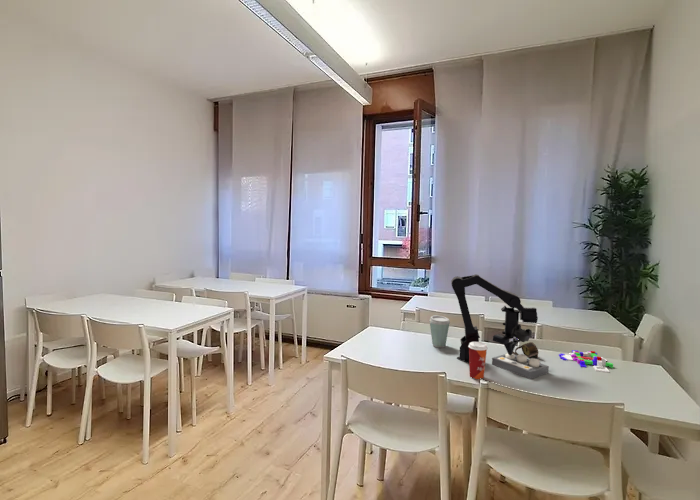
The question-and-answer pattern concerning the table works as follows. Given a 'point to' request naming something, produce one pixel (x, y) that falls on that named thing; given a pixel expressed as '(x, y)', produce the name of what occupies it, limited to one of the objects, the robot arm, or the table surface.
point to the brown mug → (528, 349)
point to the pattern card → (514, 363)
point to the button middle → (522, 358)
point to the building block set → (591, 355)
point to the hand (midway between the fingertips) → (510, 354)
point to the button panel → (520, 371)
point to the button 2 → (534, 363)
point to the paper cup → (477, 359)
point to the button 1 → (509, 356)
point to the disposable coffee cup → (439, 330)
